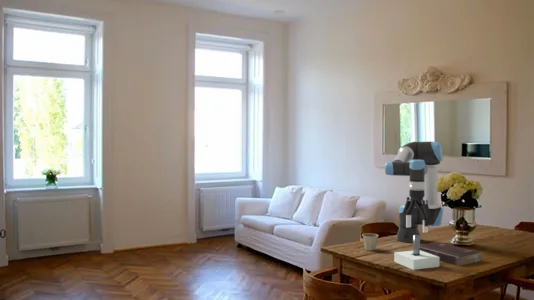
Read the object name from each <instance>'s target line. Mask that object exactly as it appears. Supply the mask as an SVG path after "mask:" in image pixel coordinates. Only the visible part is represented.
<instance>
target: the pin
mask: <svg viewBox="0 0 534 300" xmlns="http://www.w3.org/2000/svg"><path fill="white" fill-rule="evenodd" d="M420 237H421V234H420V235H413V243H412V251H413V255H414V256H420V245H421V241H420Z"/></svg>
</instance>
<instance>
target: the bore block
mask: <svg viewBox="0 0 534 300" xmlns="http://www.w3.org/2000/svg"><path fill="white" fill-rule="evenodd" d="M393 259H394V261H393V262H394V263H396V264H398V265H401V266H403V267H406V268H408V269H411V270H413V271H415V270H421V269H431V268H439V267H440V261H439V257H438V256H435V255H432V254H429V253H426V252H424V251H421V250H420V256H414V255H413V250H407V251H406V250H404V251H394V258H393Z"/></svg>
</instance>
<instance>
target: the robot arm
mask: <svg viewBox="0 0 534 300" xmlns="http://www.w3.org/2000/svg"><path fill="white" fill-rule="evenodd" d="M442 148H443V147H442V144H441V143H440V142H439V141H412V142H408V143H406V144H403V145H401V147H399V148H398V151H397V155H396V156H395V158H394V159H393V160H392V161H386V162H385V164H384V172H385V175H386V176H392V177H393V176H399V177H402V176H403V177H409V196H407V197H406V201H405V204H402V205H400V206H399V212H398V215H399V216H398V217H399V218H398V219H399V221H398V227H399V228H398V230H397V234H396V237H395V240H396V241H398V242H402V243H412V244H413V235H420V242H421V240H422V237H421V234H420V230H419V226H422V233H424V234H425V233H429V227H440V226H441V225H442V221H443V217H444V215H443V214H444V208H443V207H442V206H441V204H440V203H439V191H438V192H437V189H436V183H437V181H438V182H439V179H438V178H439V177H438V175H439V173H438V168H439V167H438V166H439V165H440V164H441V162H443V159H444V157H443V149H442Z"/></svg>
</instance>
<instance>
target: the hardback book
mask: <svg viewBox="0 0 534 300" xmlns="http://www.w3.org/2000/svg"><path fill="white" fill-rule="evenodd" d="M420 250H421V251H424V252H426V253H429V254H432V255H435V256H438V257H439V262H440V261H441V262H444V263H447V264H450V265H455V266H457V265H458V267H459V266H464V265H468V264H473V262H474V263H478V261H479V262H481V261H482V252H480V251H475V250H473V249H472V250H471V249H468V248H464V247H461V246H460V247H458V246H455V245H451V244H446V243H442V242H438V241H435V242H431V243H426V244H420Z"/></svg>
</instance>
